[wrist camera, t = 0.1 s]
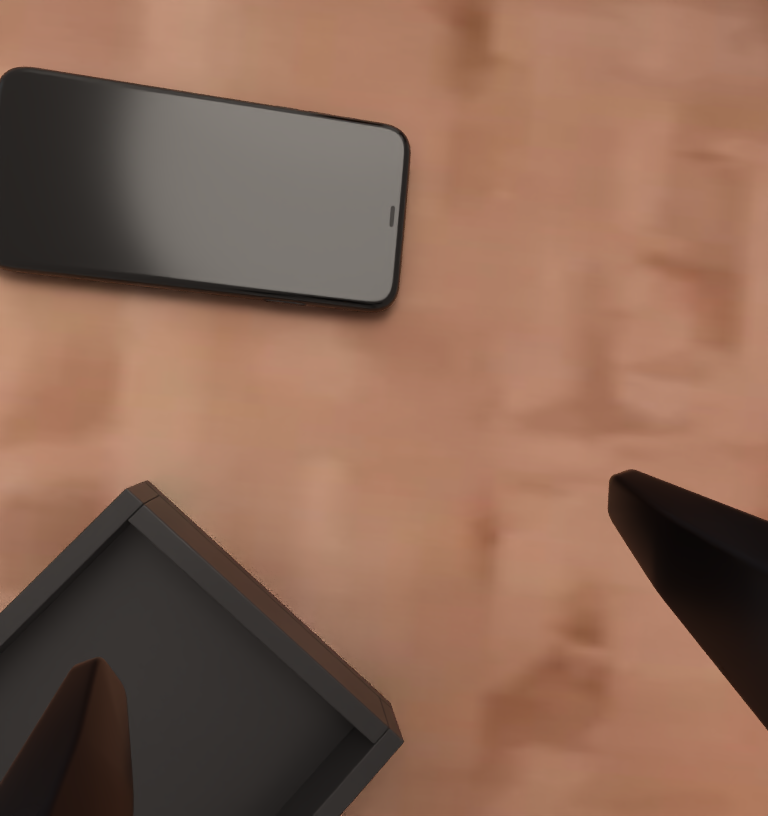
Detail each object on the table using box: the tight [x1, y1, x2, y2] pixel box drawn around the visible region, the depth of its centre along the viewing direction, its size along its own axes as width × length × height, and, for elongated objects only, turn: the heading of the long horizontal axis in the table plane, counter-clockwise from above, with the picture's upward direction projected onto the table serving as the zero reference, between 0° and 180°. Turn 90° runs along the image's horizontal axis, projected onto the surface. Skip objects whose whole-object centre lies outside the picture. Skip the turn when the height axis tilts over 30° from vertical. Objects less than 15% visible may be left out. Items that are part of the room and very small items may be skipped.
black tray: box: [0, 480, 404, 816], centre depth 22 cm, size 14×15×3 cm
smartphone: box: [0, 67, 411, 312], centre depth 24 cm, size 8×1×16 cm
